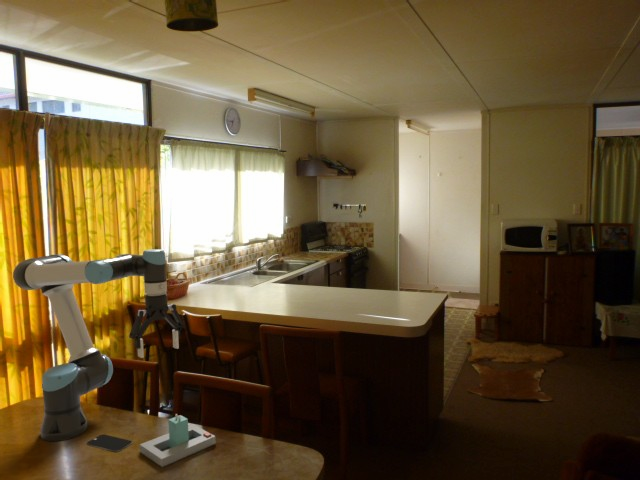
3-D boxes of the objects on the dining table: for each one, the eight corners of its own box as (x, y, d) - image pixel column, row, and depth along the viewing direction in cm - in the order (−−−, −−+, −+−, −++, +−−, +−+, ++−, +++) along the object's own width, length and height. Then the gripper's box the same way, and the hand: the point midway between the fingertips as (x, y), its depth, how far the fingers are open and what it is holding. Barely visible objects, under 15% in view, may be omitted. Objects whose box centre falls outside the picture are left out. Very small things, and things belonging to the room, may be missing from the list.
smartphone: (102, 433, 187) (134, 441, 181) (102, 435, 187) (134, 443, 181) (84, 443, 180) (117, 451, 174) (84, 445, 180) (117, 453, 174)
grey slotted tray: (140, 452, 174) (139, 442, 174) (192, 431, 188) (192, 422, 188) (162, 467, 164) (161, 457, 164) (215, 444, 179) (215, 434, 178)
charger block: (169, 448, 176) (168, 415, 175) (181, 443, 179) (180, 411, 178) (177, 452, 173) (175, 419, 171) (189, 447, 176) (187, 414, 175)
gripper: (126, 301, 174) (130, 363, 176) (192, 289, 191) (195, 346, 194) (116, 297, 179) (120, 358, 181) (181, 286, 197) (184, 342, 199)
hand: (158, 352), depth 187 cm, fingers open, 13 cm apart
